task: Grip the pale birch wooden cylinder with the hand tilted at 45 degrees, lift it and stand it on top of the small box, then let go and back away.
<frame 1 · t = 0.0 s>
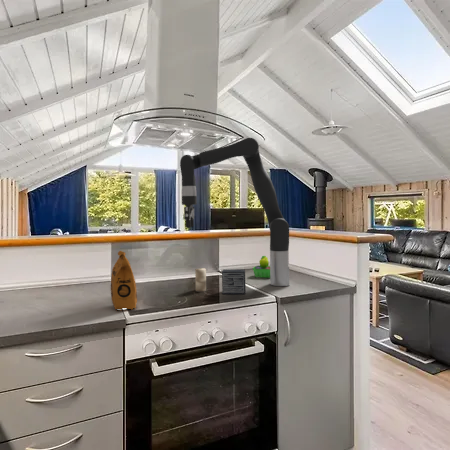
hand: (189, 227, 163), 29 cm above the countertop, tool pointing down, fingers open, 8 cm apart
small box: (234, 293, 147), on the countertop
birch cylinder: (201, 290, 152), on the countertop
coffee package: (124, 307, 128), on the countertop
fruit basket: (263, 276, 180), on the countertop
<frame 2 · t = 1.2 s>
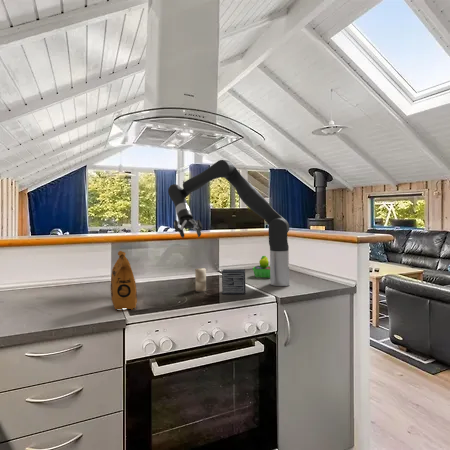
hand: (191, 236, 161), 25 cm above the countertop, tool tilted 45°, fingers open, 8 cm apart
nothing on the countertop moved.
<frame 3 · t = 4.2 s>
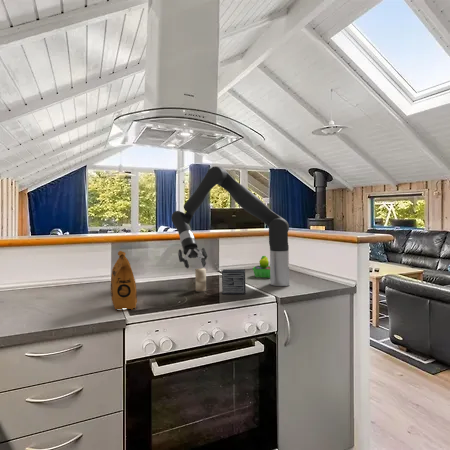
hand: (196, 266, 157), 10 cm above the countertop, tool tilted 45°, fingers open, 8 cm apart
nothing on the countertop moved.
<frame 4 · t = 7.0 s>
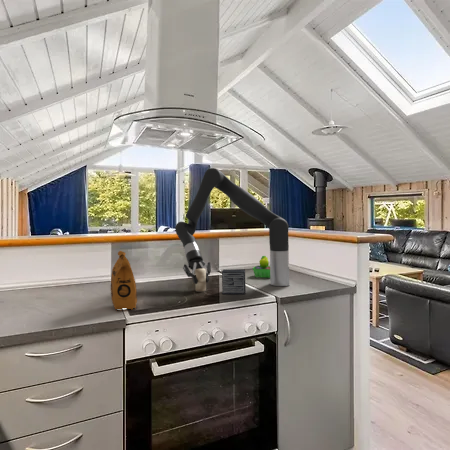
hand: (202, 282, 150), 4 cm above the countertop, tool tilted 45°, fingers closed on birch cylinder, 5 cm apart
birch cylinder: (200, 290, 152), on the countertop, touching gripper
everything else where it was.
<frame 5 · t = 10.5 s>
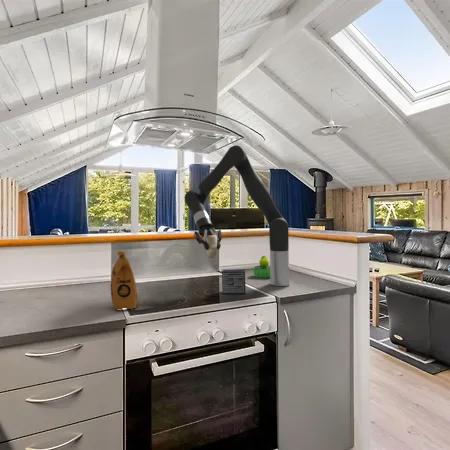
hand: (213, 248, 148), 20 cm above the countertop, tool tilted 45°, fingers closed on birch cylinder, 5 cm apart
birch cylinder: (212, 257, 149), point 16 cm above the countertop, touching gripper
everything else where it was.
when the fingers open (16 cm above the countertop, at t = 14.0 s): birch cylinder drops 1 cm, resting on small box.
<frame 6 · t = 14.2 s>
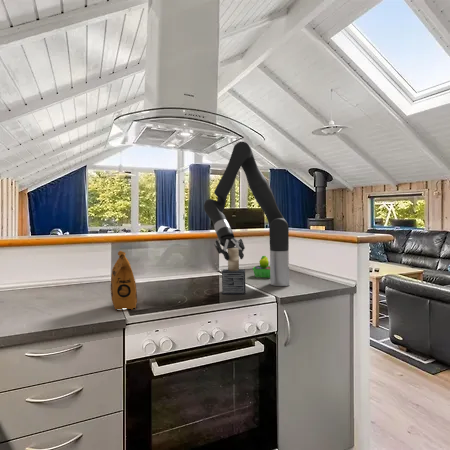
hand: (235, 258, 144), 16 cm above the countertop, tool tilted 45°, fingers open, 6 cm apart
small box: (234, 293, 147), on the countertop, touching birch cylinder
birch cylinder: (233, 270, 146), point 10 cm above the countertop, touching small box
everything else where it was.
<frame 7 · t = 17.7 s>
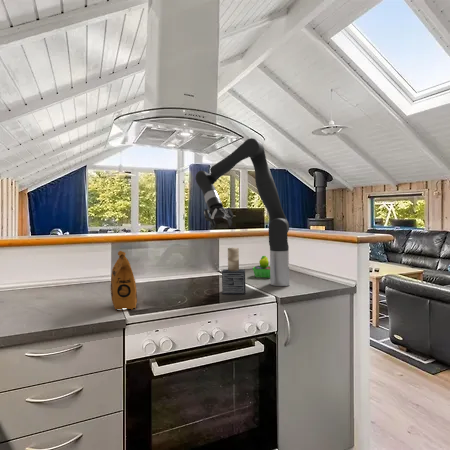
hand: (222, 225, 157), 30 cm above the countertop, tool tilted 40°, fingers open, 8 cm apart
nothing on the countertop moved.
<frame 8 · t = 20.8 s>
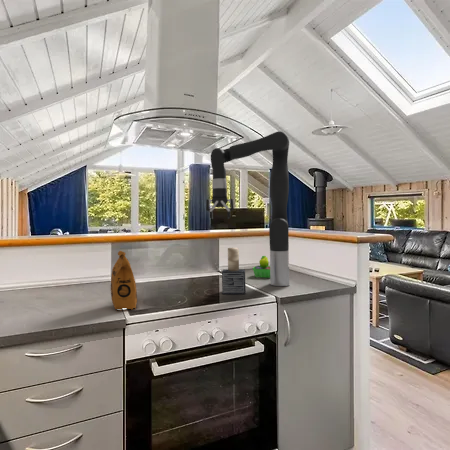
hand: (220, 218, 168), 33 cm above the countertop, tool pointing down, fingers open, 8 cm apart
nothing on the countertop moved.
at the end: birch cylinder 0.1 cm from the small box (horizontally); birch cylinder point 10.4 cm above the countertop; birch cylinder tilted 0° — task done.
